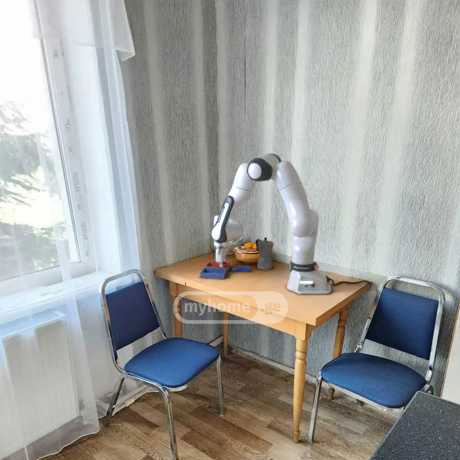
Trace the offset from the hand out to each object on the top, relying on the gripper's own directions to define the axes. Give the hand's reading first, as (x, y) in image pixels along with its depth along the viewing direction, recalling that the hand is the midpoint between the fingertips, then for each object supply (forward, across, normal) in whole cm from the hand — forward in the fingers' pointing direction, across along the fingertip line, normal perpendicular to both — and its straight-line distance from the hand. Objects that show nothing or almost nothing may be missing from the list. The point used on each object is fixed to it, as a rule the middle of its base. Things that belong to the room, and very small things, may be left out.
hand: (222, 265), depth 228 cm
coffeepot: (+3, +9, -23) cm, 25 cm away
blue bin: (+2, -11, +3) cm, 12 cm away
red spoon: (+2, 0, +3) cm, 4 cm away
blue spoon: (+3, 0, -10) cm, 11 cm away
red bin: (+2, 0, +3) cm, 4 cm away
